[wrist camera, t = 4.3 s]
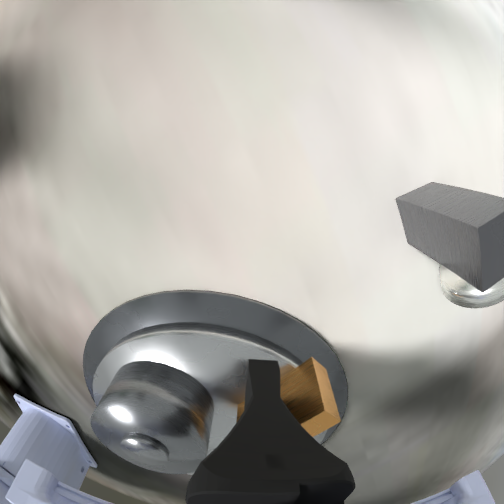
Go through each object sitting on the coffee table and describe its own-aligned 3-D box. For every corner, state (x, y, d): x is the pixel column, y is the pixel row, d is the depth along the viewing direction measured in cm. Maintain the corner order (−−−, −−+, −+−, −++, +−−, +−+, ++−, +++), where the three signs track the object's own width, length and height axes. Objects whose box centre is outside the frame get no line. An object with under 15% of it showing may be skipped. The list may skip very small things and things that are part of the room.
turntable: (218, 481, 19) (214, 522, 14) (72, 391, 16) (44, 433, 11) (379, 404, 15) (400, 457, 11) (206, 248, 12) (179, 296, 8)
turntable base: (311, 471, 19) (311, 474, 19) (116, 448, 19) (115, 450, 19) (383, 303, 14) (385, 305, 13) (60, 270, 14) (57, 272, 13)
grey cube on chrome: (452, 234, 12) (531, 276, 7) (401, 261, 13) (474, 322, 7) (440, 178, 12) (529, 197, 6) (385, 203, 12) (468, 237, 6)
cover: (174, 439, 15) (161, 486, 11) (99, 387, 14) (72, 432, 10) (236, 407, 14) (231, 466, 10) (148, 341, 13) (117, 398, 9)
